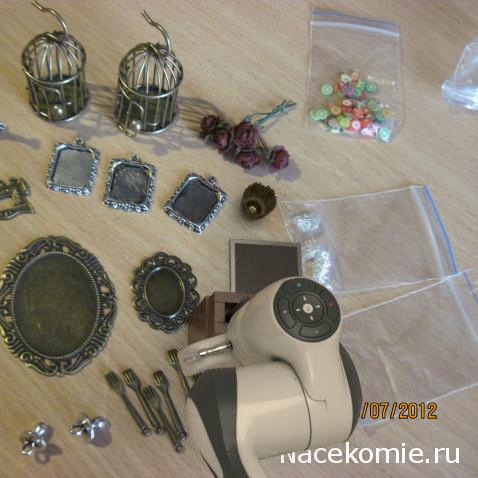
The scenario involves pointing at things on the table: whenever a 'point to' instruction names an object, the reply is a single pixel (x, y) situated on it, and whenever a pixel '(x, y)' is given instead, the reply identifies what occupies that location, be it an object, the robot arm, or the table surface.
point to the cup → (258, 201)
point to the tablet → (262, 264)
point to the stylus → (236, 309)
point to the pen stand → (212, 315)
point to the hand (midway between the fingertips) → (237, 349)
